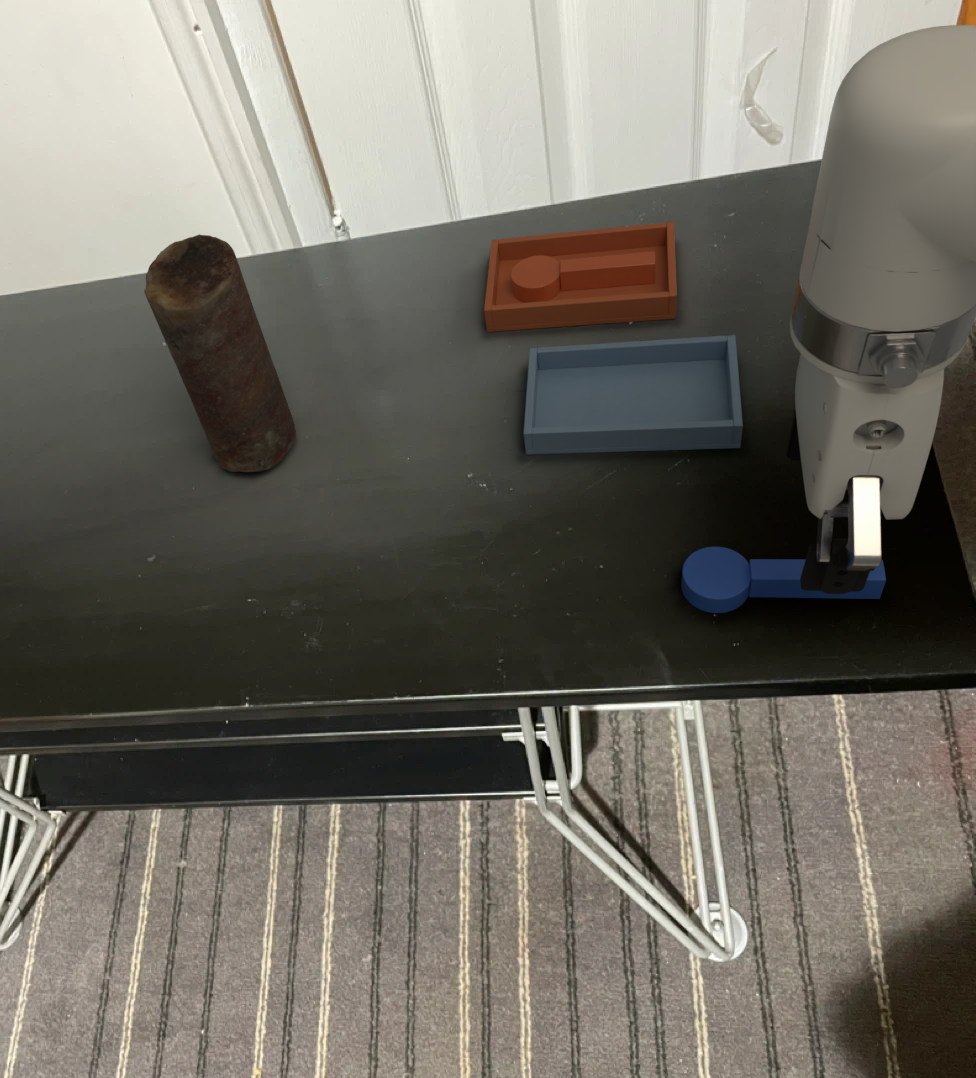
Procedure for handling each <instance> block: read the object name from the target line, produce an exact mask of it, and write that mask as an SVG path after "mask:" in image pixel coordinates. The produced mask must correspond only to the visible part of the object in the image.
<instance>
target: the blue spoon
mask: <svg viewBox="0 0 976 1078" xmlns="http://www.w3.org/2000/svg"><path fill="white" fill-rule="evenodd" d="M805 560H806V558H805V559H804V558H803V559H797V558H796V559H794V558H793V559H791V558H790V559H789V558H787V559H786V558H785V559H784V558H781V559H780V558H773V559H772V558H766V559H765V558H750V559H749V562H748V561H747V559H746V558H745V557H744V556H743V555H742V554H740V553H739V552H737V551H735V550H733V549H731V548H728V547H724V546H707V547H703V548H700V549H697V550H695V551H694V552H693V553H691V554H690V555H689V556H688V557H687V558H686V559H685V561H684V562H683V564H682V570H681V586H680V587H681V592H682V595H683V597H684V598H685V599H686V601H687V602H688V603H689V604H690V605H691V606H693V607H694V608H696V609H698V610H700V611H703V612H705V613H709V614H725V613H728V612H732V611H735V610H737V609H738V608H740V607H741V606H742V605H743V604H744V603H745V602H746V601H747V599H748V598H777V599H778V598H779V599H783V598H785V599H792V598H793V599H842V600H843V599H844V600H845V599H848V600H851V599H852V600H880V599H881V596H882V593H883V591H884V587H885V585H886V582H887V577H886V570H885V565H884V560H883V559H881V563H880V565H879V566H878V567H876V568H874V570H873V571H870V573H869V576H868V578H867V581H866V584H865V587H864V589H863V590H861V591H857V592H848V593H845V594H827V593H824V592H822V591H807V590H803V589H801V584H800V578H801V574H802V571H803V567H804V564H805Z"/></svg>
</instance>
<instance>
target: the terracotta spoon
mask: <svg viewBox="0 0 976 1078" xmlns="http://www.w3.org/2000/svg"><path fill="white" fill-rule="evenodd" d="M655 268H656V259H655V251H651V252H640V253H629V254H618V255H607V256H596V257H586V258H575V259H564V260H560V263H559V262H558V261H557V260H556V259H554V258H552V257H549V256H544V255H537V256H531V257H528V258H525V259H523V260H521V261H520V262H519V263H517V264H516V265H515V266H514V268H513V269H512V272H511V279H512V288H513V294H514V296H515V297H516V298H517V299H518V300H520V301H522V302H524V303H529V302H542V301H549V300H551V299H553V298H554V297H556V296H557V295H558V294H559V292H560V291H570V290H582V289H594V288H607V287H619V286H631V285H643V284H654V283H655Z"/></svg>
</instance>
